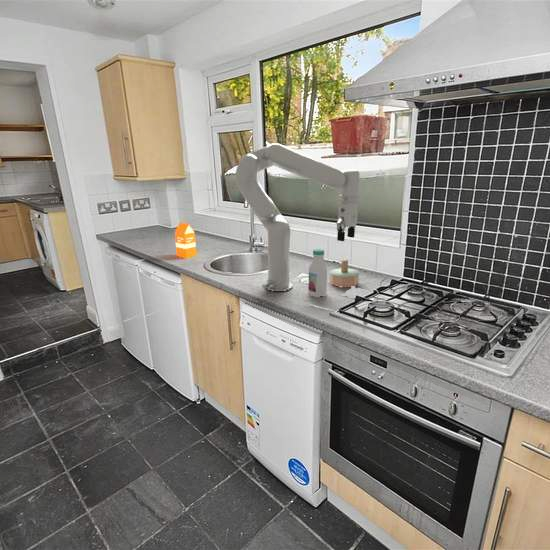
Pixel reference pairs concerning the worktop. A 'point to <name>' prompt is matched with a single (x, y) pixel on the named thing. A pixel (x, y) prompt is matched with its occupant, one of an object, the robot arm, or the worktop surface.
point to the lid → (344, 271)
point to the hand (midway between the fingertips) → (345, 238)
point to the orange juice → (185, 241)
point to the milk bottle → (317, 274)
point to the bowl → (344, 281)
